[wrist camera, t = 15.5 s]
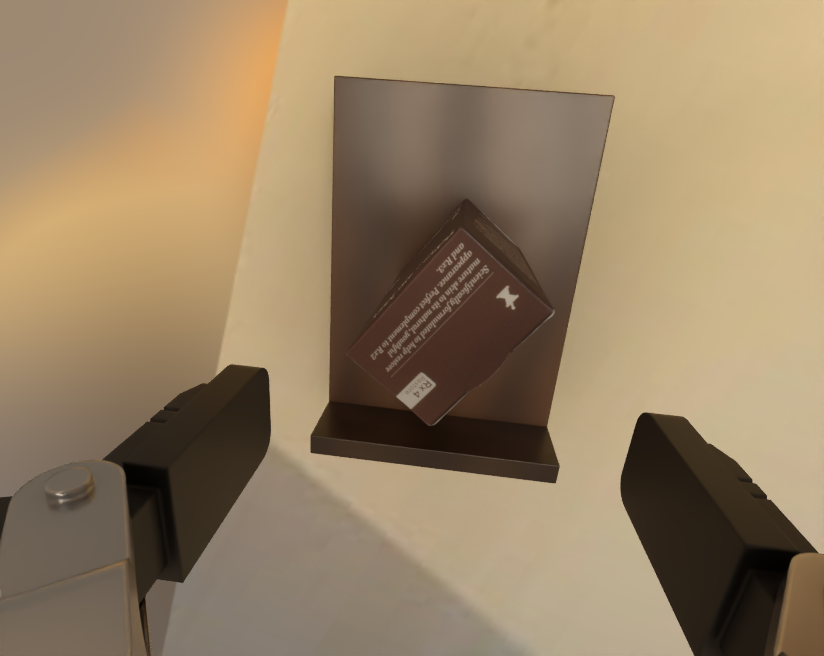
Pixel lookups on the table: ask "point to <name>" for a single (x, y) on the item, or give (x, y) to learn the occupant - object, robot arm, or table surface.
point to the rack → (421, 219)
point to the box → (452, 316)
